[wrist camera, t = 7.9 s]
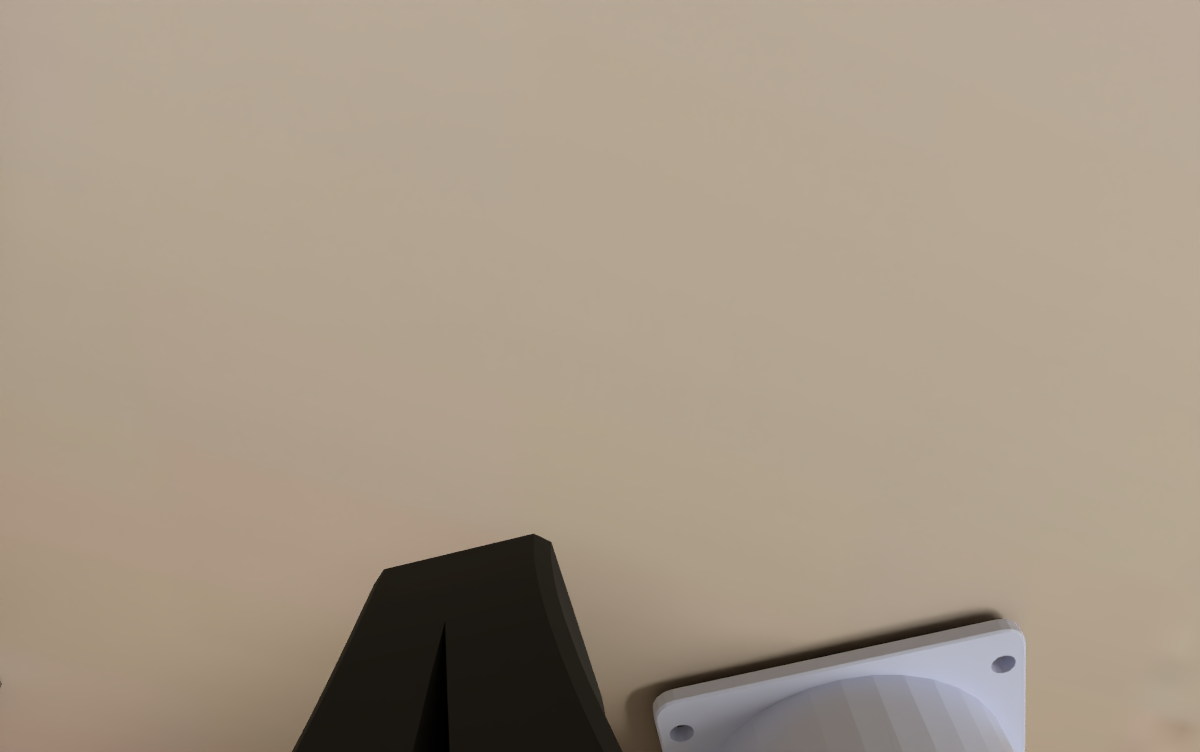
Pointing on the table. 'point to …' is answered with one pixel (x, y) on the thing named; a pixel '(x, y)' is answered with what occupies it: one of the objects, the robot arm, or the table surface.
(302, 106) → the table surface
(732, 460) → the table surface
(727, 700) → the robot arm
